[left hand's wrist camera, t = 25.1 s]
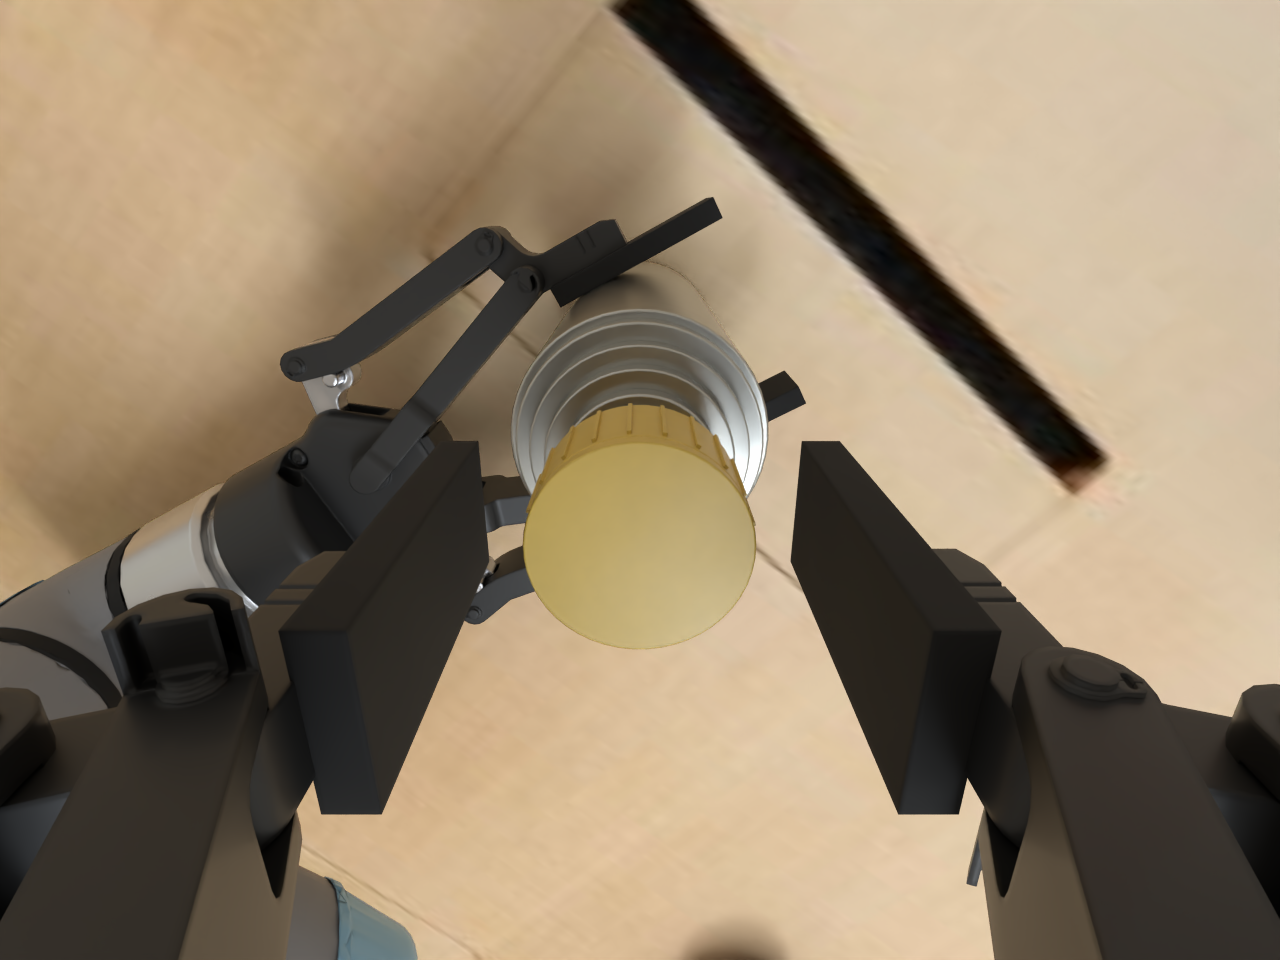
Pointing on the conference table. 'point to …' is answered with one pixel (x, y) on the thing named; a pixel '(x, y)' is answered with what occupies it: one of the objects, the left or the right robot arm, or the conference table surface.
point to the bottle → (640, 370)
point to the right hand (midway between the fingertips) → (755, 301)
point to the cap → (639, 529)
